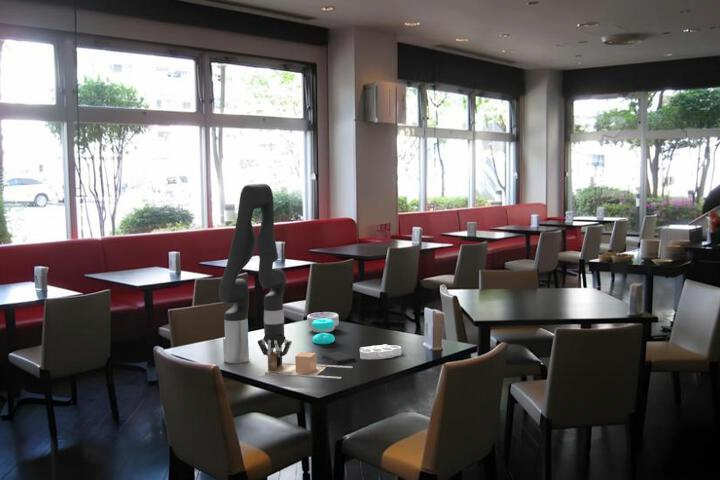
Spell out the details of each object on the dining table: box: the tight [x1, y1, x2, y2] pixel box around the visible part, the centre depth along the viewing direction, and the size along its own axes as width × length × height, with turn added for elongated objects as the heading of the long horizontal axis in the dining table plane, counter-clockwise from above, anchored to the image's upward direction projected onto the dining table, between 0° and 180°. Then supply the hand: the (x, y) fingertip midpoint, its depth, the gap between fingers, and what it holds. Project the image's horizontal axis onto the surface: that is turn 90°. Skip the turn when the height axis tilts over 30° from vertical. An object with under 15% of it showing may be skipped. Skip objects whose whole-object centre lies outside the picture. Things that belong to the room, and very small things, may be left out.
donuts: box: [312, 319, 336, 345], centre depth 293 cm, size 10×10×10 cm
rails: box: [268, 362, 353, 380], centre depth 244 cm, size 28×15×2 cm, turn 74°
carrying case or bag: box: [321, 351, 358, 366], centre depth 260 cm, size 11×3×15 cm
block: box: [294, 351, 317, 373], centre depth 245 cm, size 6×6×6 cm
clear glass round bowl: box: [306, 311, 340, 334], centre depth 317 cm, size 15×15×8 cm
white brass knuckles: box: [358, 343, 402, 360], centre depth 270 cm, size 3×18×15 cm
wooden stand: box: [264, 350, 327, 376], centre depth 246 cm, size 20×12×7 cm, turn 74°
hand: (275, 366), depth 248 cm, fingers closed on wooden stand, 2 cm apart
